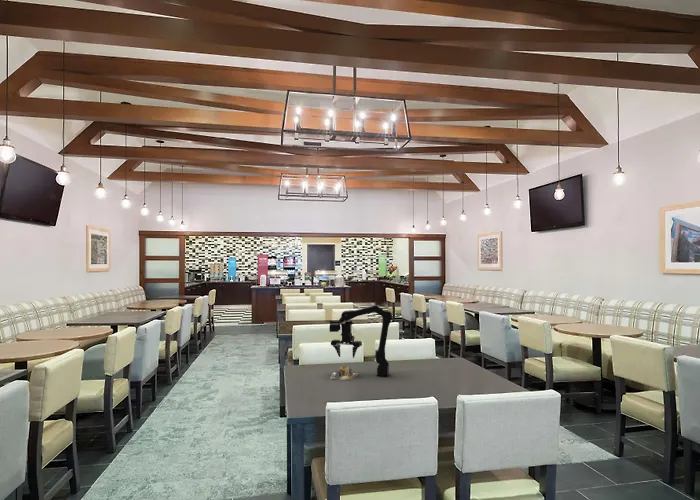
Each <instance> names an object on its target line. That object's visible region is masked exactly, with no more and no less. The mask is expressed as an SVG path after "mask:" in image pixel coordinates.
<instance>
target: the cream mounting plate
mask: <svg viewBox="0 0 700 500" xmlns="http://www.w3.org/2000/svg"><path fill="white" fill-rule="evenodd" d="M348 367H349V375H348V376H342V377H338V378H336V377H332V376H331V375H330V376H329V379H330V380H331V379H332V380H339V381H340V380H341V381H350V380H352V379H353V378H355V377H357V376H358V372H352V371H353V369H352V367H350V366H348Z"/></svg>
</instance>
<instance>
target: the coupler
mask: <svg viewBox="0 0 700 500" xmlns="http://www.w3.org/2000/svg"><path fill="white" fill-rule="evenodd" d="M349 367H350V366H346V365H345V364H343V365H341V366H340V367H338V368H339V369H338V371H341V372H342V376H348V375H349Z"/></svg>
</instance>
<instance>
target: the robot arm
mask: <svg viewBox="0 0 700 500" xmlns="http://www.w3.org/2000/svg"><path fill="white" fill-rule="evenodd" d="M371 313H376V314H378V315H379V316H381V323H382V324H381V331H380V337H379V344H378V348H377V349H374V350H375V351H374V355H373V357H374V359H375V361H376V363H377V364H378V365H377V368H376V377H381V378H388V377H389V376H391V374H390V365H389V364H390V363H389V361H388V360H387V359H386V343H387V338H388V332H389V326H390V324H391V323H392V322H391V321H392V318H393V314H392V312H391V311H389V310H385V309H383V308H381V307H380V306H378V305H376V304H373V305H370V306H367V307H362V308H358V309H355V310H354V309H353V310H351V309H350V310H344V311H342V312H341V315H340V318H339V319H338V320H329V333H339V331H341V333H340V336H341V340H340V339H332V340H331V341H330V346H332V347H333V348H334V349H335V351H336V354H337V356H338V357H339V358H340V357H341V345H347V346H352V350H351V351H352V359H354V358H355V356H356V353H357V352H358V351H357V350H358V348H360V347H362V346H363V342H362V341H361V340H355V336H354V335H352V328H351V326H352V325H354V322H353V319H355V318H357V317H359V316H364V315H367V314H371Z"/></svg>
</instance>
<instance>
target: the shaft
mask: <svg viewBox="0 0 700 500" xmlns="http://www.w3.org/2000/svg"><path fill="white" fill-rule="evenodd" d="M331 376H332V377H336V378H338V377H342V372H341V371H339V369H338V370H335V371H333V372H332V373H331V374H330V377H331Z"/></svg>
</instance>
